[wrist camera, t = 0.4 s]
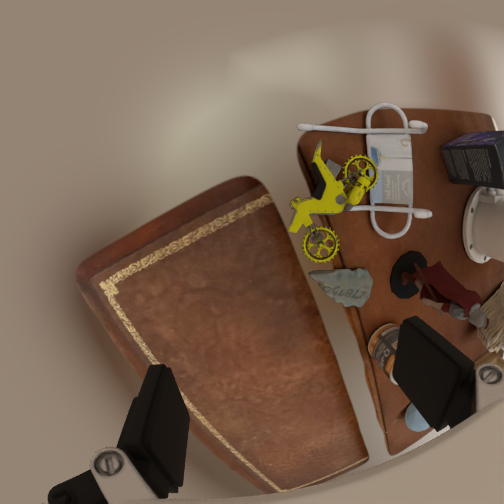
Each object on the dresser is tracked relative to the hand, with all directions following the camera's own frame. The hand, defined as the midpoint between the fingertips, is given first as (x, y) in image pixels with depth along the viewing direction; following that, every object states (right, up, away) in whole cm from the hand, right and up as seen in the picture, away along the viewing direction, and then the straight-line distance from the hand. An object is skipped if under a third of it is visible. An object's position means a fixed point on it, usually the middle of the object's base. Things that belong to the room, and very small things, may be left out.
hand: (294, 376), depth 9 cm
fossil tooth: (+44, -6, +27) cm, 52 cm away
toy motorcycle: (+9, +8, +16) cm, 20 cm away
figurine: (+19, +2, +22) cm, 29 cm away
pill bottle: (+17, -8, +24) cm, 31 cm away
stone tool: (+9, +3, +20) cm, 22 cm away
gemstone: (+31, -26, +30) cm, 50 cm away
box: (+28, +18, +19) cm, 39 cm away
